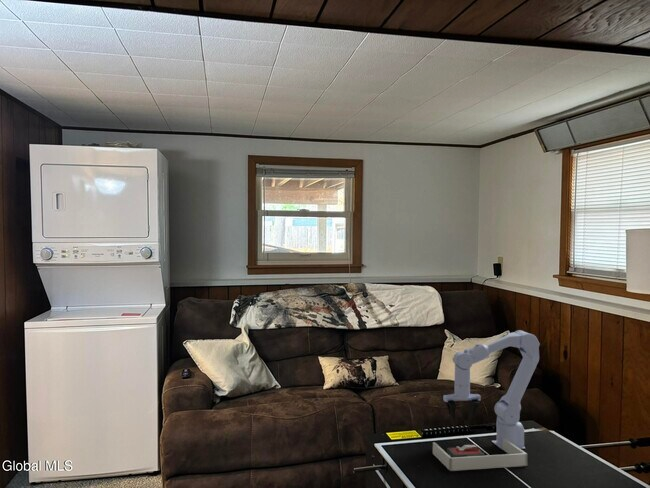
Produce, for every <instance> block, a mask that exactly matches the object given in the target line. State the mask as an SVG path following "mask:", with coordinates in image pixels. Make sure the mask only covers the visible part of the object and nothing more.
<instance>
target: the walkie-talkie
mask: <svg viewBox="0 0 650 488" xmlns="http://www.w3.org/2000/svg"><path fill="white" fill-rule="evenodd" d="M446 453H447V454H448V455H449V456H450V457H451V458H452V457H469V456H485V453H484V452H483V451H482V450H481V449H480V448H479V447H477V446H476V445H475V444H463V446H461V447H460V446H458V445H457V446H456V447H446Z"/></svg>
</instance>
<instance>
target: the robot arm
mask: <svg viewBox="0 0 650 488" xmlns="http://www.w3.org/2000/svg"><path fill="white" fill-rule="evenodd" d="M474 345H475V346H472V347H470V348H465V349H463V351H462V350H459V351H457V352H455V354H454V355H453V357H452V362H453V364H454V390H453V391H454V393H451V394H444V395H443V396H442V397H443V398H442V399H443V402H444V403H445V405H446V407H447V409H448V412H449V418H450V420H451V421H452V422H455V421H456V408H457V404H456V403H455V402H463V401H467V404H468V419H470V421H473V420H474V419H475V415H476V412H477V409H478V407H480V401H482V396H481V395H480V394H478V393H471V368H472V367H473V365H474V364H477V363H479V362H481V361H483V360H486V359H488V358H489V357H490V355H491V354H492V353H495V352H497V351H501V350H503V349H506V348H508V347H512V348H518V350H519V352H520V354H521V356H522V359H521V362H520V363H519V366H518V367H517V370H516V372H515V375H514V376H513V378H512V380H511V383H510V385H509V387H508V390H507V392H506V394H504V395H502V396H501V398H500V399H499V401H497V402H496V403H495V405H494V409H493V410H494V412H495V414H496V438H495V439H496V440H491V443H492V444H494V445H496V447H498V448H499V449H501V450H502V451H504V448H503V439H506V440H508V441H509V442H511V443H512V444H513V445H515V446H516V447H518V448H519V449H521V450H523V449H526V447H525V429H524V426H523V424H522V423H521V422H520V417H521V416H520V414H521V410H522V405H521V401H522V399H523V396H524V394H525V392H526V389H527V387H528V385H529V383H530V382H531V378H532V376H533V374H534V372H535V370H536V368H537V365H538V364H539V361H540V349H539V347H540V345H541V343H540V342H539V340H538V338H537V336H536V335H535V334H533V333H529V332H526V331H524V330H523V329H522V330H521V329H518V330H515V331H514V332H513V331H512V332H510V333H507V334H506V335H504V336H502V337H500V338H498V339H496V340H494V341H492V342H489V343H488V344H483V343H475V344H474Z"/></svg>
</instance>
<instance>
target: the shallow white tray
mask: <svg viewBox="0 0 650 488" xmlns="http://www.w3.org/2000/svg"><path fill="white" fill-rule="evenodd" d="M503 448H504V450H503V451H504V452H505V454H503V453H502V454H491V455H490V454H489V455H488V454H487V455H485V454H484V456H469V457H452V458H451V457H450V456H449V455H448V454H447V451H445V450H444V448H442V447H441V446H439V444H438V443H437V442H436V441H434V442H432V455H433V456H435V458H436V459H438V460H439V461H440V463H441V464H443V466H444V467H446V468H447V470H449V471H450V472H456V471H457V472H458V471H468V470H482V469H483V470H485V469H487V470H488V469H497V468H499V469H500V468H502V469H503V468H513V467H514V468H515V467H516V468H517V467H528V453H527V452H525V451H524V450H523V449H519V448H518V447H516V446H515V445H513V444H512V443H511V442H509V441H508V440H506V439H503Z"/></svg>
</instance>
